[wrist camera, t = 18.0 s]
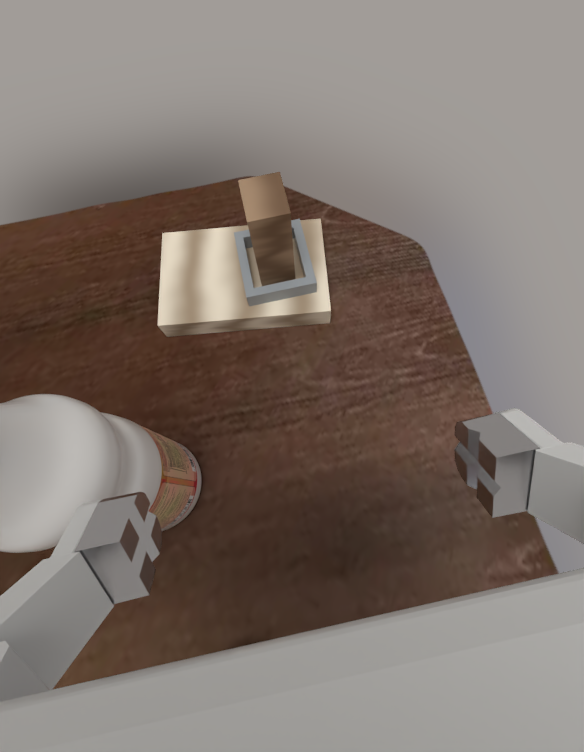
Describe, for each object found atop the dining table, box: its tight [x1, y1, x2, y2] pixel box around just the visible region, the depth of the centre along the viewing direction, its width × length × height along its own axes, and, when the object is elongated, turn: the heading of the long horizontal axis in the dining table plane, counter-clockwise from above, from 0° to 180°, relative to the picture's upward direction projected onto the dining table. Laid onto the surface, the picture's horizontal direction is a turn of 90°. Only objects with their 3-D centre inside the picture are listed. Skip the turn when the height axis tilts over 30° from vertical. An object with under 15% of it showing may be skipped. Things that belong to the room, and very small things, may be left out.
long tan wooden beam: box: [238, 172, 295, 286], centre depth 40 cm, size 4×5×11 cm
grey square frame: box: [234, 219, 317, 306], centre depth 44 cm, size 8×9×2 cm
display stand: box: [158, 219, 331, 337], centre depth 47 cm, size 20×13×3 cm, turn 94°
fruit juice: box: [0, 394, 202, 553], centre depth 27 cm, size 9×9×28 cm
